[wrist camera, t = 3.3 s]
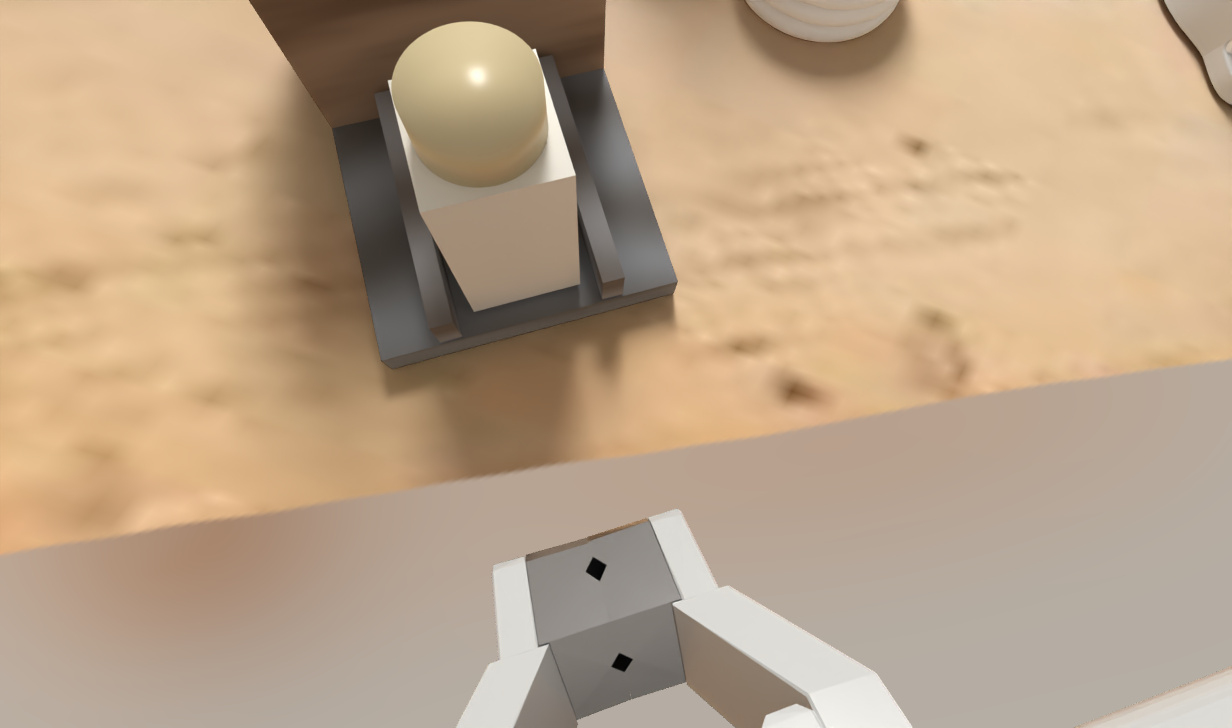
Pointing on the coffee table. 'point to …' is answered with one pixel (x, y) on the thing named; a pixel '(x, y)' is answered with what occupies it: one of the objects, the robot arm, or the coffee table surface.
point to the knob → (488, 162)
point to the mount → (382, 186)
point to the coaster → (824, 17)
